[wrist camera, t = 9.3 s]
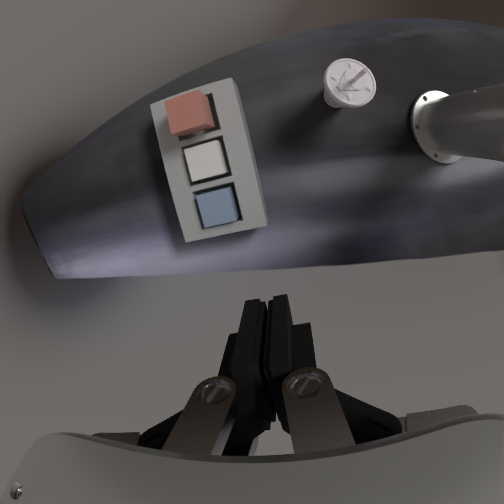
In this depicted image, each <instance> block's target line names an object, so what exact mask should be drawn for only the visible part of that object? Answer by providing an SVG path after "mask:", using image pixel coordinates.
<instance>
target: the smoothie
mask: <svg viewBox="0 0 504 504" xmlns="http://www.w3.org/2000/svg"><path fill="white" fill-rule="evenodd" d="M324 85H325V89H324V100H325V102H326V103H327V104H328V105H329V106H331V107H333V108H341V107H353V108H354V107H361V106H363V105H365V104H367V103H368V102H369V101H370V100H371V99H372V98H373V96H374V94H375V91H376V82H375V79H374V76H373V74H372V73H371V71H370V70H369V69H368V68H367V67H366V66H365V65H364V64H362V63H360V62H358V61H356V60H353V59H339V60H337V61H335V62H333V63H332V64H331V65H330V66H329V67H328V68H327V70H326V71H325V74H324Z"/></svg>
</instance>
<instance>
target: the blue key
mask: <svg viewBox="0 0 504 504" xmlns="http://www.w3.org/2000/svg"><path fill="white" fill-rule="evenodd" d="M196 198H197V202H198V206H199V209H200V213H201V217H202V220H203V224H204V227H205V228H206V227H210V226H215V225H219V224H224V223H229V222H233V221H237V219H238V217H239V216H240V214H241V212H240V208H239V204H238V200H237V196H236V192H235V188H234V184H233V185H228V186H224V187H220V188H216V189H212V190H208V191H204V192H202V193H201V194H199V195H197V196H196Z"/></svg>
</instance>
